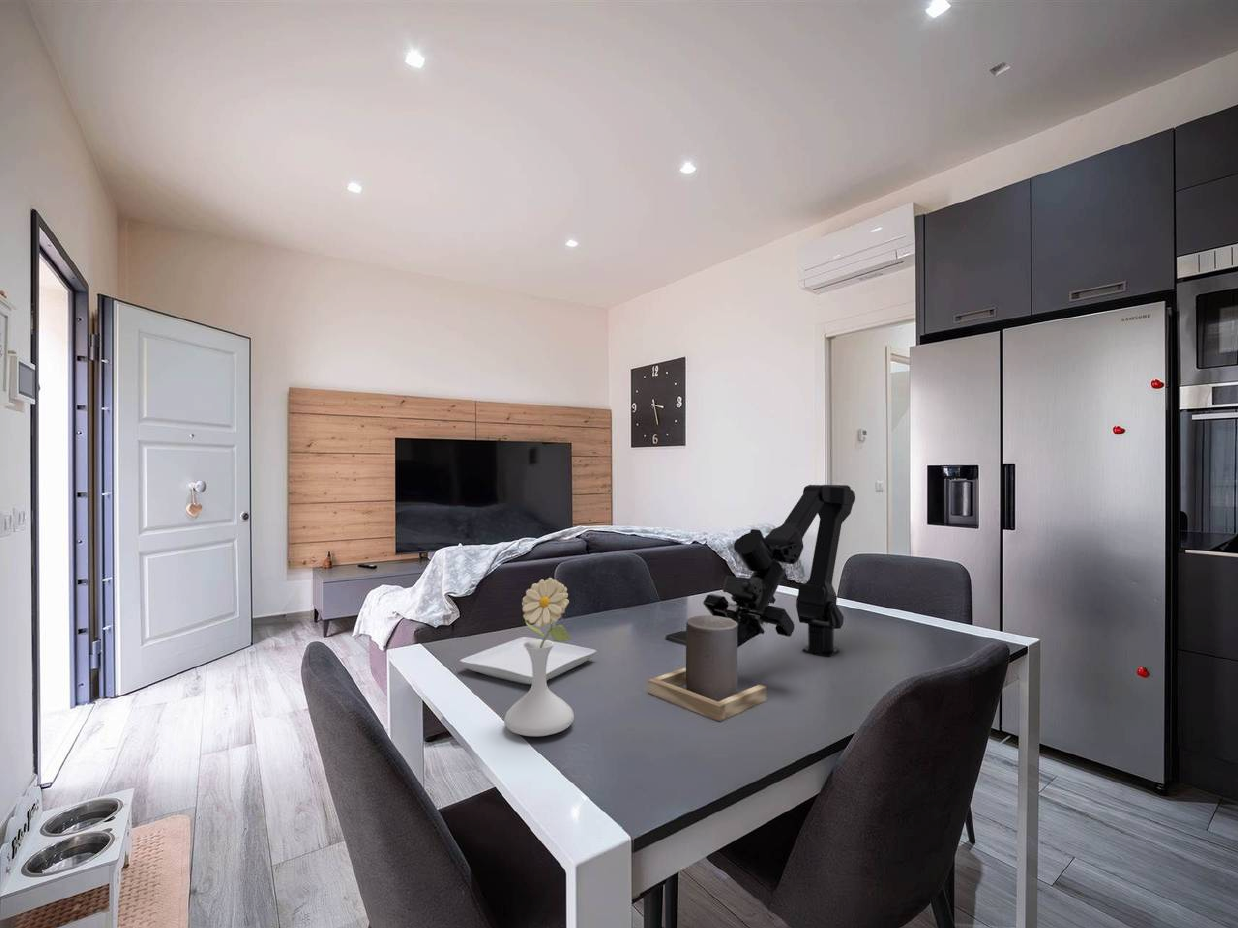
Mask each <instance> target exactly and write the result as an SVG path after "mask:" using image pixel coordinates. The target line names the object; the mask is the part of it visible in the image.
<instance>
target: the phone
mask: <svg viewBox="0 0 1238 928" xmlns="http://www.w3.org/2000/svg"><path fill="white" fill-rule="evenodd" d="M665 640H666V641H668V642H672V643H676V644H679V645H682V646H684V647H686V630H681V631H676V632H674V633H670V634H666V635H665Z"/></svg>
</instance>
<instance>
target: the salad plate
mask: <svg viewBox="0 0 1238 928" xmlns="http://www.w3.org/2000/svg"><path fill="white" fill-rule="evenodd" d="M532 640H542V639H539V638H535V637H528V636H523V637H519V638H516V639H513V640H510V641H508V642H504V643H502V644H499V645H496V646H494V647H491V648H487V649H485V650H482V651H479V652H477V653H475V654H472V655H469V656H466V657H464V658H462V659H460V660H459V661H460V664H461V665H462V666H464V668H466V669H469V670H470V671H473V672H477V673H481V674H484V675H486V676H489V677H490V676H491V677H494V678H498V679H501V680H502V679H503V680H506V681H511V682H513V683H514V682H515V683H520V684H522V685H523V684H524V685H531V686H532V663H531V658H530V655H529V653H528V651H527V649H526V648H525V647H524V643H526V642H528V641H532ZM553 642H554V643H555V644H554V646H553V647H552V649H551V651H550V653H549V656H548V660H547V666H546V682H547V681H549V679H550V680H551V679H554V678H556V677H558V676H559V675H562V674H564V673H566V672H567V671H570V670H571V669H574V668H575V667H577V666H579V665H582V664H584V663H586V662H587V661H589V660H591V658H593V657H594V655H595V654H596V653H597V650H596V649H593V648H589V647H583V646H578V645H573V644H569V643H565V642H564V643H563V642H560V641H559V642H556V641H553Z"/></svg>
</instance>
